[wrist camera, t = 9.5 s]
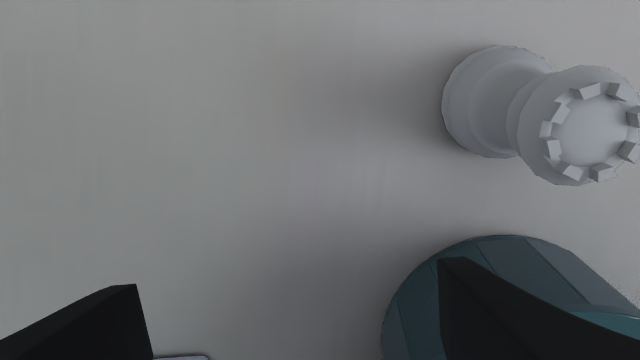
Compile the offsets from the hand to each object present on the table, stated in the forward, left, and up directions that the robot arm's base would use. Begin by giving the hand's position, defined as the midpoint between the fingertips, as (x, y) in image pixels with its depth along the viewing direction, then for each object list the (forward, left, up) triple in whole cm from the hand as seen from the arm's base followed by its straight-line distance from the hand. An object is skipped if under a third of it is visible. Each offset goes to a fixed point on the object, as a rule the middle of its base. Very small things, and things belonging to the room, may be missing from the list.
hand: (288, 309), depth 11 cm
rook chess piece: (+8, +3, -10) cm, 13 cm away
